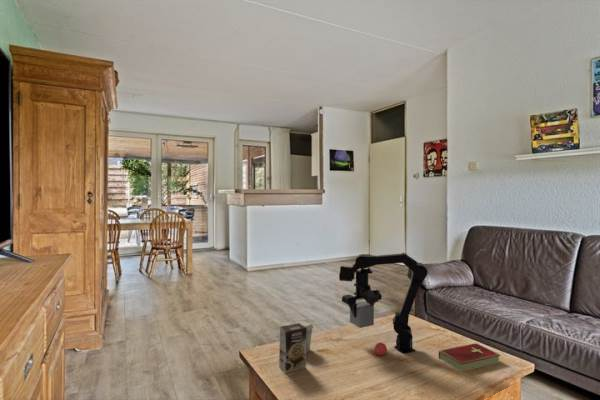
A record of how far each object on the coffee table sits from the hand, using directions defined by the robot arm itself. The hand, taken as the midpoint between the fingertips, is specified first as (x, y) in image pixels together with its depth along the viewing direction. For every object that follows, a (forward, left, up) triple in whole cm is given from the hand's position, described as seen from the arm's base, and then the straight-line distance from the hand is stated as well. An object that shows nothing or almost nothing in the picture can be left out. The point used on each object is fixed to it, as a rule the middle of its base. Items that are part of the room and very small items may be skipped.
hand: (361, 316), depth 153 cm
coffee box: (+38, +7, -13) cm, 40 cm away
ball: (-1, +12, -10) cm, 16 cm away
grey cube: (0, 0, -4) cm, 4 cm away
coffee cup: (+28, -5, -13) cm, 31 cm away
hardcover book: (-32, +31, -14) cm, 47 cm away
